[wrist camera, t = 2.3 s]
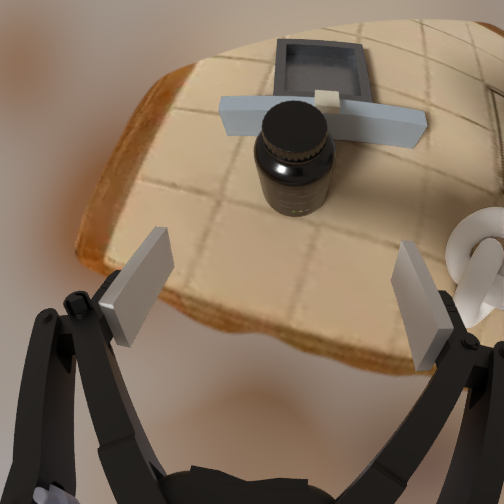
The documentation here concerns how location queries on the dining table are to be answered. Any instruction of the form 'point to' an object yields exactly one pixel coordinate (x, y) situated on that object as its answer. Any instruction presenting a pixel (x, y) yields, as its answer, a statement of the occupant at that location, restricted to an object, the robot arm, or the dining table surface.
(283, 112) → the supplement bottle
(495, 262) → the white trefoil knot
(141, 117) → the dining table surface
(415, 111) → the door edge plank
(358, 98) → the keeper frame
